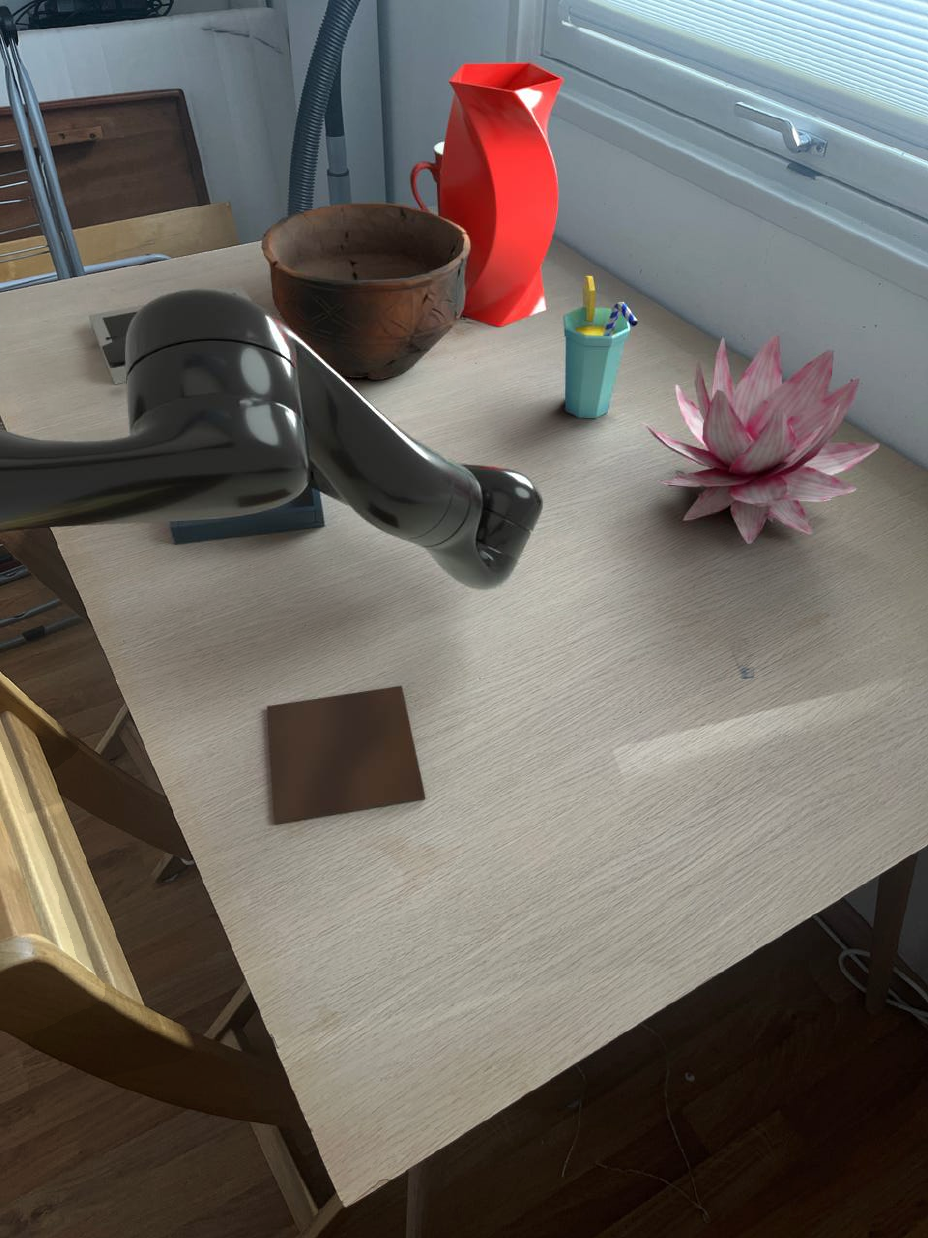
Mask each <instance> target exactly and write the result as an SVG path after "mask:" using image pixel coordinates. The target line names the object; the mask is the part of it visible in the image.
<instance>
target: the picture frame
mask: <svg viewBox="0 0 928 1238" xmlns="http://www.w3.org/2000/svg"><path fill="white" fill-rule="evenodd" d="M219 291H222V292H227V293H231V294H235V295H238V296H240V297H243V298H245V299H248V300H250V301H253V299H252V298H251V295H249V293H248V292H247V291H246V289H245V288H244V287H243V286H237V287H233V288H232V287H231V288H227V289H221V290H219ZM146 304H147V303H146ZM146 304H141V305H136V306H135V305H134V306H130V307H124V308H120V309H113V310H109V311H103V312H97V313H92V314H88V319H89V323H90V326H91V328H92V331H93V334H94V336H95V339H96V341H97V344H98V346H99V348H100V351H101V354H102V356H103V358H104V361H105V364H106V366H107V368H108V369H107V370H108V371H109V372H110V376H111V378H112V381H113V383H114V385H119V384H124V383H126V373H125V344H126V335H127V331H128V328H129V325H130V322H131V320H132V319H133V317H134V316H135V314H136V313H137V312H138V311H139V310H140V309H141V308H142V307H143V306H145V305H146Z"/></svg>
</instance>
